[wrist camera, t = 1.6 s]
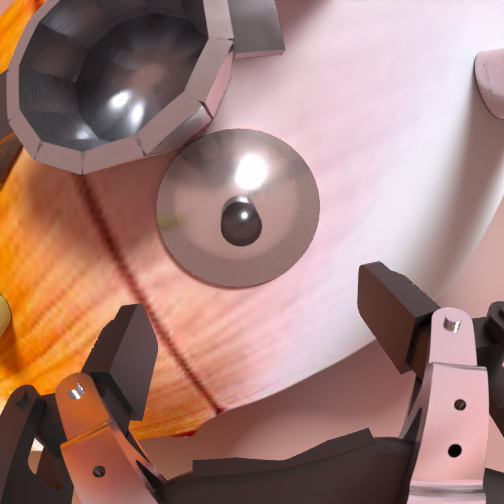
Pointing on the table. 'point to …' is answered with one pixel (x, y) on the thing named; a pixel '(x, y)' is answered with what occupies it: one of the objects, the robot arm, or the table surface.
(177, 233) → the lid
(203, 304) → the table surface
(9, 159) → the robot figurine
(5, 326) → the plant pot
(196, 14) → the pot
